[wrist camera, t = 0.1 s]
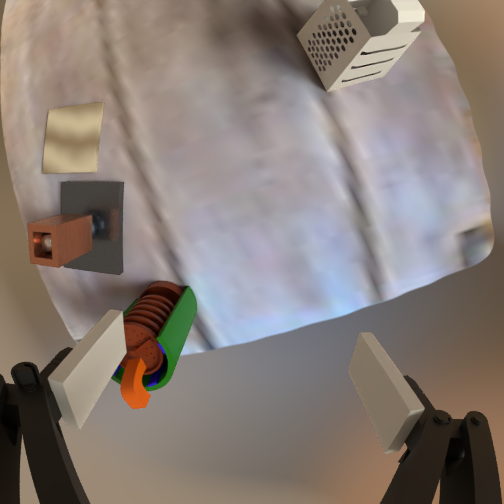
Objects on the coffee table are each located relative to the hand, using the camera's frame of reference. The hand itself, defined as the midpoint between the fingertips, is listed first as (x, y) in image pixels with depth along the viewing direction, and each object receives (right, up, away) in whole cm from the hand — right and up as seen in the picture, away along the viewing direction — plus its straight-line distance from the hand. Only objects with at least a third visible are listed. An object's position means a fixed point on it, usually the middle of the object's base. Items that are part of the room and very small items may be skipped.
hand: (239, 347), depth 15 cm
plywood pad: (-28, +23, +23) cm, 43 cm away
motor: (-13, -4, +30) cm, 33 cm away
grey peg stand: (-24, +9, +26) cm, 37 cm away
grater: (+14, +35, +20) cm, 43 cm away
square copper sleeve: (-24, +8, +22) cm, 34 cm away
